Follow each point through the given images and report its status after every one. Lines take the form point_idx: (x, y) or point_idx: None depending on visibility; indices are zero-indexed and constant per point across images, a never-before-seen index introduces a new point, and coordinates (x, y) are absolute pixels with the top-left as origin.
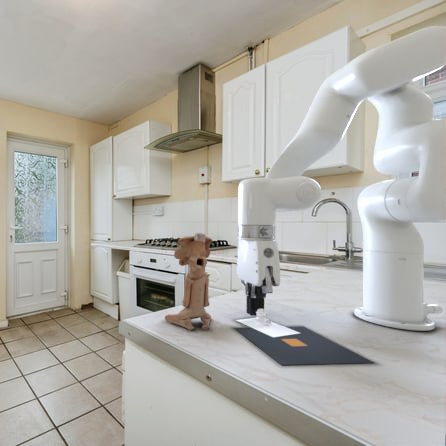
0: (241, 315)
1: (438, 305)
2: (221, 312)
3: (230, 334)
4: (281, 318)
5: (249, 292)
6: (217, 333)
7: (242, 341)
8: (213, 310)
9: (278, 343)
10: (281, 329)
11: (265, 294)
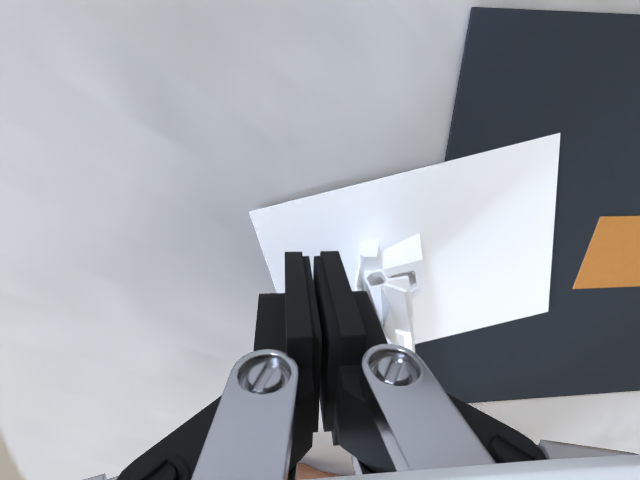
0: (211, 306)
1: None
2: (160, 387)
3: None
4: (272, 48)
5: (294, 467)
6: None
7: (523, 418)
8: (124, 414)
9: (596, 319)
10: (480, 212)
11: (476, 413)
